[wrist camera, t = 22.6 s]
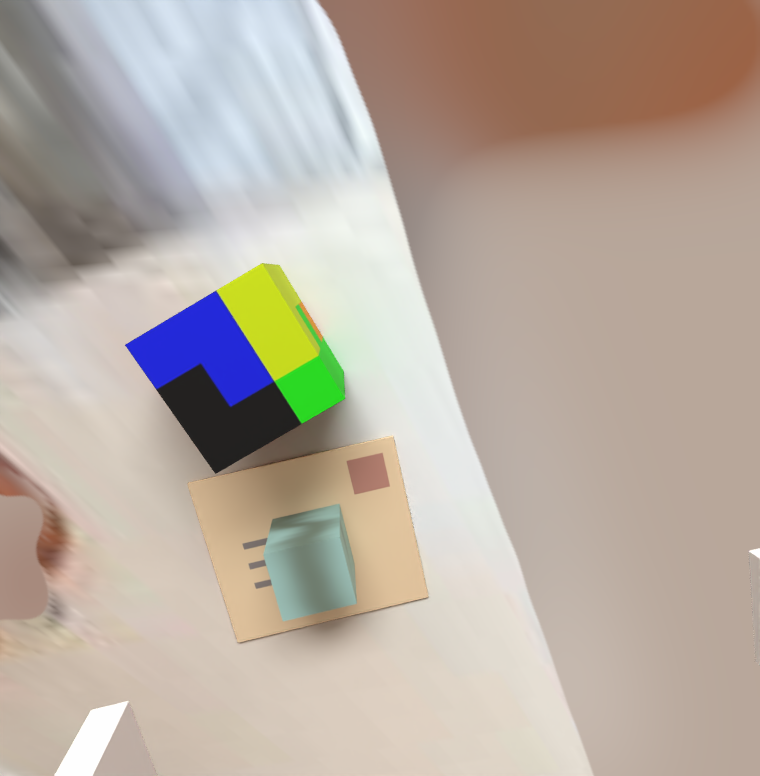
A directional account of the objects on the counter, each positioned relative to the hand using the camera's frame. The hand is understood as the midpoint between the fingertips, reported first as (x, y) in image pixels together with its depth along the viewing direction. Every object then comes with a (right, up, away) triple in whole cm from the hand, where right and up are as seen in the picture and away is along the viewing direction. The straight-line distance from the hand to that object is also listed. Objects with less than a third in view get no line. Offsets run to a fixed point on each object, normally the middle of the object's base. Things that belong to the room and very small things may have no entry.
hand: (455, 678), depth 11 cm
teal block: (-7, -8, +36) cm, 38 cm away
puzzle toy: (-11, +9, +33) cm, 36 cm away
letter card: (-8, -8, +37) cm, 38 cm away
